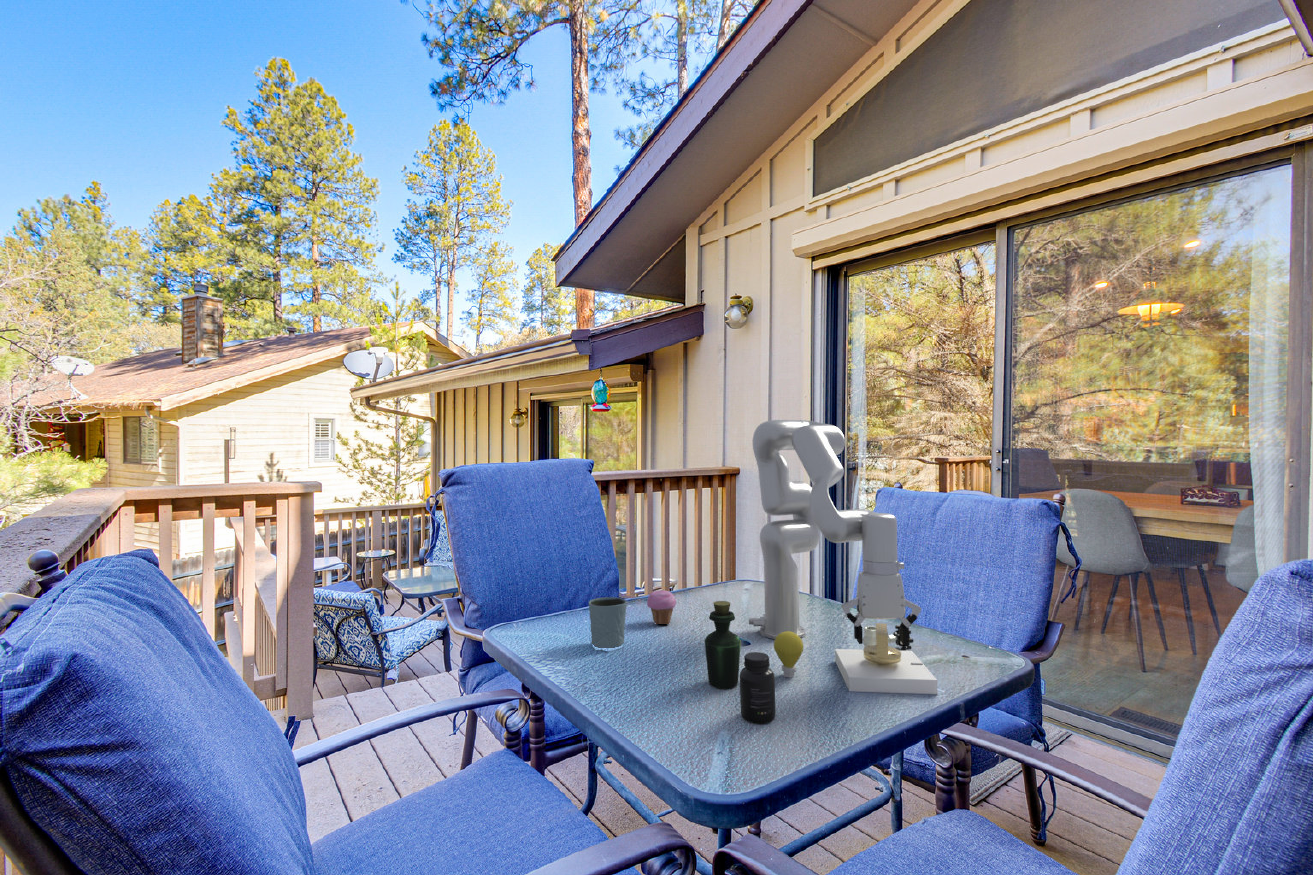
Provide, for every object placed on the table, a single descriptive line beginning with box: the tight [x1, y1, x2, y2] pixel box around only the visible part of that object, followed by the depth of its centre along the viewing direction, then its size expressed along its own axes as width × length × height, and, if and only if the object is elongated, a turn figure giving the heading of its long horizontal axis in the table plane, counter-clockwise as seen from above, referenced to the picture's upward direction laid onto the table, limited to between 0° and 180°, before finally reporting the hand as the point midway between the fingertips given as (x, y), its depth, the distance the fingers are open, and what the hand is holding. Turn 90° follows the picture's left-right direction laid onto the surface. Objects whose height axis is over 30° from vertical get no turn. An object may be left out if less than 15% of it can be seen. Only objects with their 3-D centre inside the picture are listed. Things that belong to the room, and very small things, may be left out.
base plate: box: [834, 648, 938, 695], centre depth 137 cm, size 18×18×3 cm
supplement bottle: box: [739, 651, 777, 725], centre depth 118 cm, size 7×7×12 cm
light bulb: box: [773, 631, 804, 678], centre depth 139 cm, size 7×7×10 cm
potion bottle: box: [703, 600, 742, 690], centre depth 135 cm, size 8×8×18 cm
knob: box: [863, 622, 901, 664], centre depth 138 cm, size 11×8×8 cm
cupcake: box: [646, 589, 677, 625], centre depth 181 cm, size 9×9×10 cm
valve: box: [863, 624, 915, 651], centre depth 153 cm, size 7×7×12 cm
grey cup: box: [588, 596, 628, 648], centre depth 162 cm, size 10×10×12 cm
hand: (881, 642), depth 137 cm, fingers open, 9 cm apart
